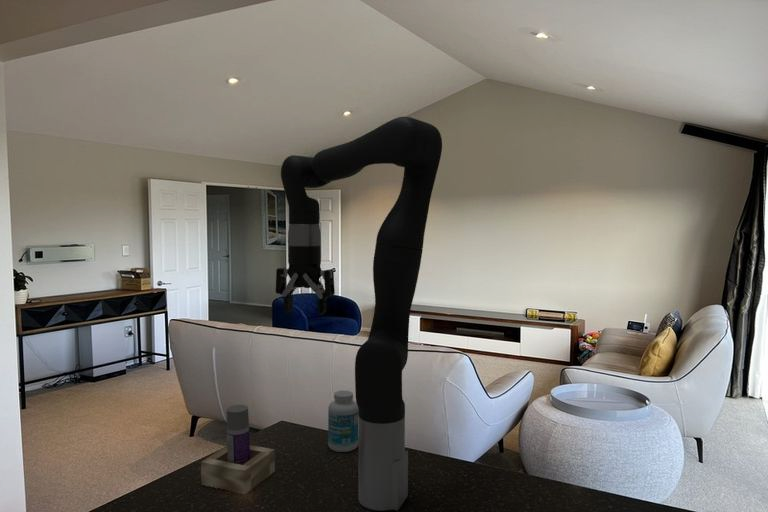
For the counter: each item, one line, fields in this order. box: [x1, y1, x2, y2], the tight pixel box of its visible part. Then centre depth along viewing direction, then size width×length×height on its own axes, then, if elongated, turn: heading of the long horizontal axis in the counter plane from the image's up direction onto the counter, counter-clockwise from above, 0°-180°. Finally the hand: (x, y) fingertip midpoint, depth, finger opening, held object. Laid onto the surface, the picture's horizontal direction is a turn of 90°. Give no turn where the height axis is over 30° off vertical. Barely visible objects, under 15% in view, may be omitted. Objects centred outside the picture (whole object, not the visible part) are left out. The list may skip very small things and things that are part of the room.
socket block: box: [200, 444, 276, 495], centre depth 118 cm, size 11×11×5 cm
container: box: [226, 404, 251, 465], centre depth 117 cm, size 5×5×15 cm
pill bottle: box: [327, 390, 359, 453], centre depth 134 cm, size 8×7×14 cm
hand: (304, 313), depth 127 cm, fingers open, 8 cm apart
